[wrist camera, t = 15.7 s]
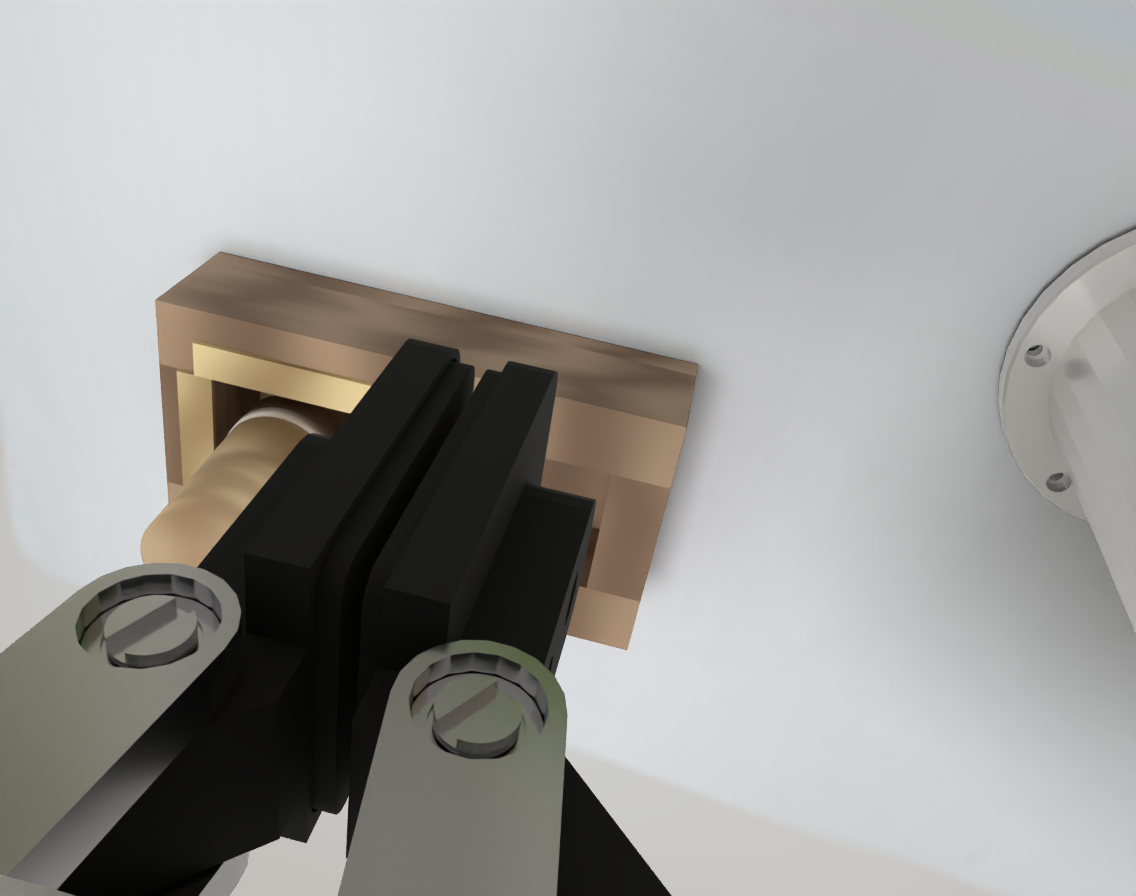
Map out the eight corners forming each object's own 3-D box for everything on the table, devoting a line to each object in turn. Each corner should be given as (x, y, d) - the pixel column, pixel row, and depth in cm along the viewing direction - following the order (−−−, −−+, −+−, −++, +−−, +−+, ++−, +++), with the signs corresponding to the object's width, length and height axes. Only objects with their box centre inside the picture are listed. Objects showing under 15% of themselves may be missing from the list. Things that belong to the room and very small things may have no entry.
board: (698, 364, 40) (686, 430, 36) (642, 575, 46) (626, 653, 42) (219, 251, 42) (152, 302, 37) (225, 470, 48) (168, 535, 43)
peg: (376, 369, 42) (264, 528, 33) (373, 459, 44) (269, 629, 35) (271, 349, 42) (131, 500, 33) (275, 439, 45) (146, 602, 36)
